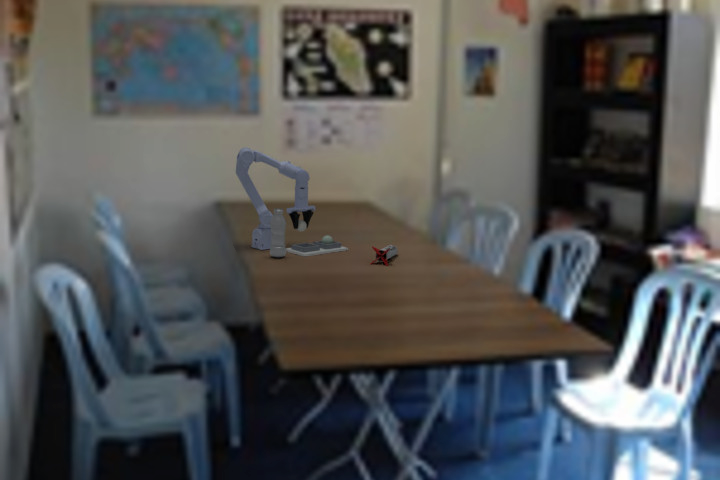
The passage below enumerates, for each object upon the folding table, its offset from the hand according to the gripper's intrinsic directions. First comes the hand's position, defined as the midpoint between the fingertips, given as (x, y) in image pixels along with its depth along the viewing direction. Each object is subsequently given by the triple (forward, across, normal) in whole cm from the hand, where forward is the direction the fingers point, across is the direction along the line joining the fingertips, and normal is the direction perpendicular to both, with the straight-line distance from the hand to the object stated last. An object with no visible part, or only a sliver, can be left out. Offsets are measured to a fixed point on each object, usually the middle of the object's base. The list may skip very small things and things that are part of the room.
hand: (300, 228), depth 374 cm
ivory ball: (-1, 0, 0) cm, 1 cm away
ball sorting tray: (+8, +1, -10) cm, 13 cm away
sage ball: (+5, +7, -10) cm, 13 cm away
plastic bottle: (+9, -21, -11) cm, 25 cm away
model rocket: (+9, +14, -40) cm, 43 cm away
